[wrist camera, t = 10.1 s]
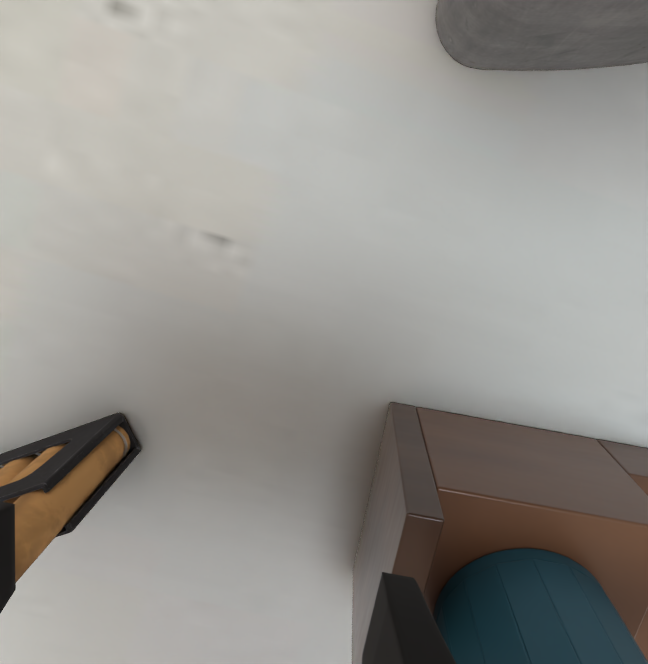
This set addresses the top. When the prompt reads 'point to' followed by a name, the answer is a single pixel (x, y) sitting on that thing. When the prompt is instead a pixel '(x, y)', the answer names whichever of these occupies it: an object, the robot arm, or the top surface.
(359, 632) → the step shelf
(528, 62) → the hip flask
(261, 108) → the top surface
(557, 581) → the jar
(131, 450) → the ammunition clip
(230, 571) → the top surface
